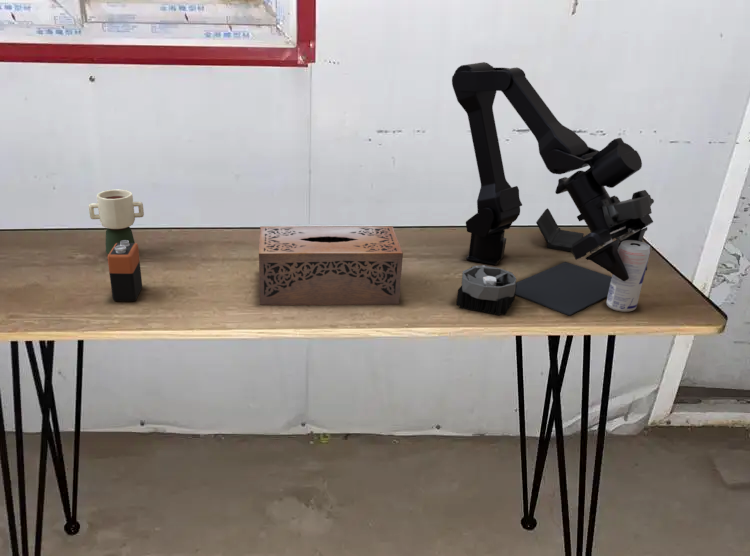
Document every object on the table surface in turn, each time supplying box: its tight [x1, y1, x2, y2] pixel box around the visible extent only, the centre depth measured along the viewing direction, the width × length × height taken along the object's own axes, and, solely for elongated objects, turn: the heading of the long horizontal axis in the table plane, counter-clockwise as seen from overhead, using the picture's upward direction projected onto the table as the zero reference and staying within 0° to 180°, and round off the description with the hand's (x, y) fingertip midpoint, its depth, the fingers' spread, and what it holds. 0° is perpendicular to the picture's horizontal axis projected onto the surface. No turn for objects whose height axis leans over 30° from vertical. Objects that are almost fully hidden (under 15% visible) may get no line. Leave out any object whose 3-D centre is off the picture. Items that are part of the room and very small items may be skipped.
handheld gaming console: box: [535, 207, 585, 253], centre depth 172 cm, size 12×7×10 cm
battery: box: [107, 240, 143, 302], centre depth 143 cm, size 4×7×10 cm, turn 179°
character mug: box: [88, 188, 145, 255], centre depth 160 cm, size 11×7×13 cm, turn 100°
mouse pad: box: [515, 261, 612, 317], centre depth 151 cm, size 15×22×1 cm
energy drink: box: [605, 240, 651, 313], centre depth 141 cm, size 5×5×12 cm
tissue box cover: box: [258, 225, 404, 306], centre depth 147 cm, size 26×14×10 cm, turn 92°
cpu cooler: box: [456, 264, 517, 317], centre depth 143 cm, size 10×6×10 cm
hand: (635, 275), depth 139 cm, fingers open, 6 cm apart
